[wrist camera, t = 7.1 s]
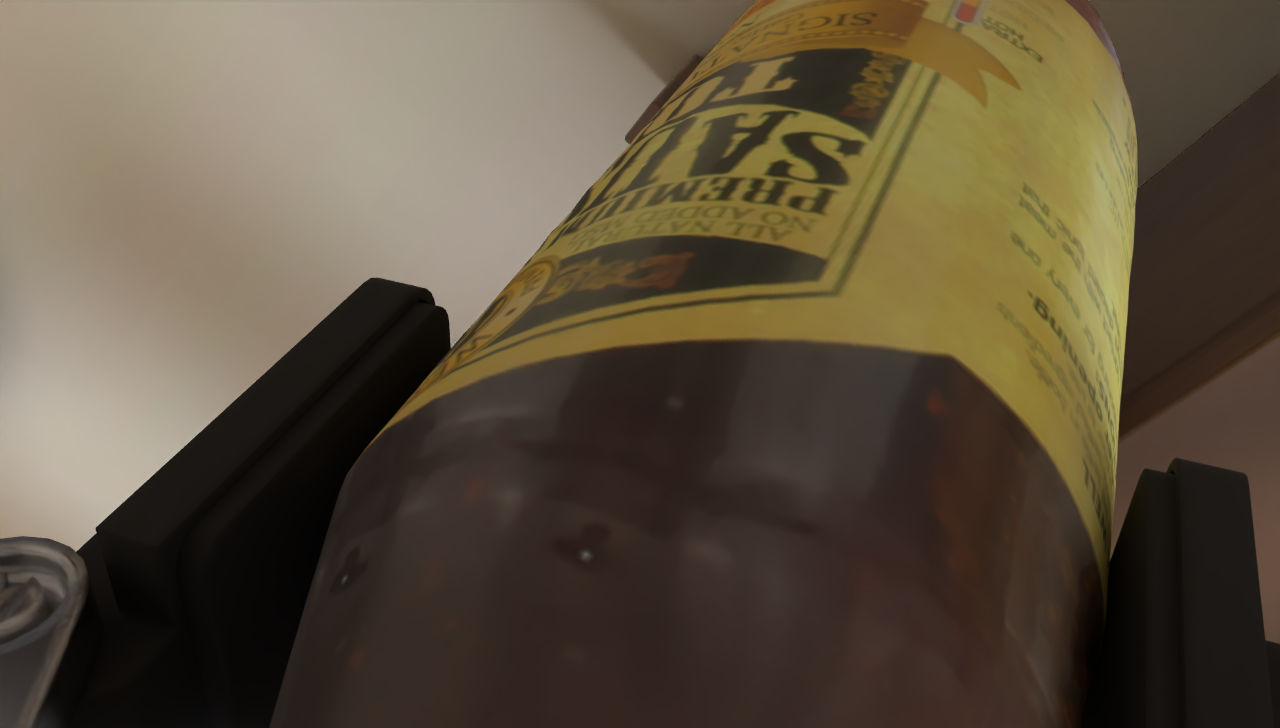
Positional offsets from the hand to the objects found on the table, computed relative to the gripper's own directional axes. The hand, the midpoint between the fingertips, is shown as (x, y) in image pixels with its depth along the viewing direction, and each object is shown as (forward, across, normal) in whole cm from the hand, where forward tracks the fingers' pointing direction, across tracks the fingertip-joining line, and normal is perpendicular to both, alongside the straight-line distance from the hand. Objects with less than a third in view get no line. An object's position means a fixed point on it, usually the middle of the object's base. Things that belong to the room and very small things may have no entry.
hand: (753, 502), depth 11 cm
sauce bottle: (+10, 0, 0) cm, 10 cm away
